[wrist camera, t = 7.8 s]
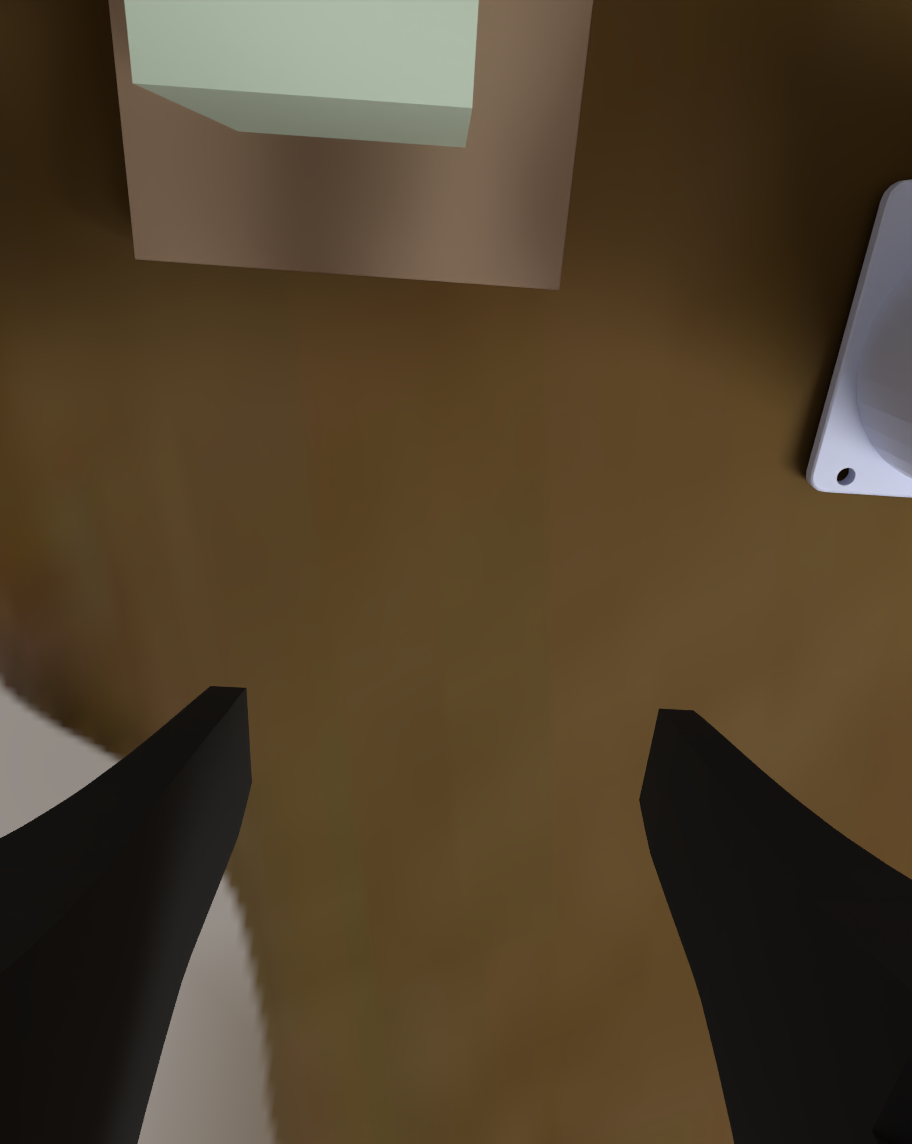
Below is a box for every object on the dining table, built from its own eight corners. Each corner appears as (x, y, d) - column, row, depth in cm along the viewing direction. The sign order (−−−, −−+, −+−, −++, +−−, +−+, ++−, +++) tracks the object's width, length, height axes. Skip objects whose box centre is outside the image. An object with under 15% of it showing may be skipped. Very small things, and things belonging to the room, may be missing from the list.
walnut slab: (606, -231, 15) (627, -293, 14) (549, 284, 20) (559, 289, 18) (118, -279, 15) (72, -347, 13) (165, 256, 19) (134, 259, 17)
